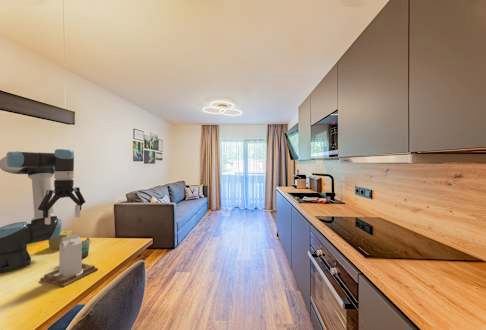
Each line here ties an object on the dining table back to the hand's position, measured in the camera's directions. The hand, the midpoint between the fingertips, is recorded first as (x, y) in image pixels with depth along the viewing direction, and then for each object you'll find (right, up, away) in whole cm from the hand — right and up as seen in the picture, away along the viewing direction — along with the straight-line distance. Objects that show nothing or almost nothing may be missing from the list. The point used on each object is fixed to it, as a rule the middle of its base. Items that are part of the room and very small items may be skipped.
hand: (63, 220), depth 105 cm
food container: (-6, -29, +20) cm, 35 cm away
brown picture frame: (+4, -28, 0) cm, 28 cm away
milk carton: (+4, -27, 0) cm, 28 cm away
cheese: (-33, -29, +37) cm, 57 cm away
